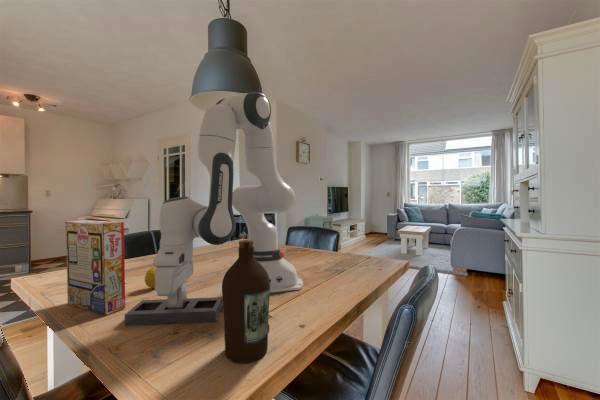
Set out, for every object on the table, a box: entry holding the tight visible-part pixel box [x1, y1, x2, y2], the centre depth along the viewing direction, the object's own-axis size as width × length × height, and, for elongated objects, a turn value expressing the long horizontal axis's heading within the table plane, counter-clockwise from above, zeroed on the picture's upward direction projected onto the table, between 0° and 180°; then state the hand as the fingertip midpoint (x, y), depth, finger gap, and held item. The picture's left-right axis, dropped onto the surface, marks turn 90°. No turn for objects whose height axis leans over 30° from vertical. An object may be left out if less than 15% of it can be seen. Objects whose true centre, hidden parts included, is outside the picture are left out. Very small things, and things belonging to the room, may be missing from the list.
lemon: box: [144, 266, 156, 289], centre depth 101 cm, size 6×6×8 cm
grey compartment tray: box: [124, 296, 223, 327], centre depth 79 cm, size 24×10×3 cm, turn 95°
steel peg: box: [166, 280, 188, 310], centre depth 78 cm, size 4×4×8 cm
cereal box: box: [65, 219, 126, 316], centre depth 85 cm, size 20×6×27 cm, turn 66°
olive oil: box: [221, 239, 271, 364], centre depth 61 cm, size 11×11×25 cm
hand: (177, 299), depth 79 cm, fingers closed on steel peg, 4 cm apart
